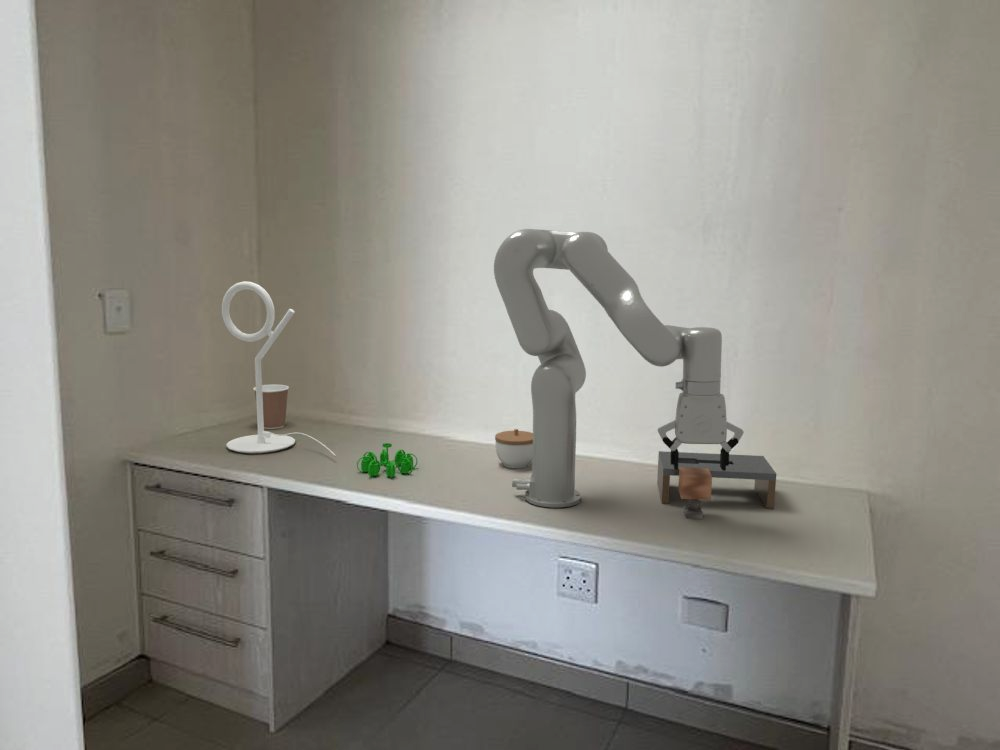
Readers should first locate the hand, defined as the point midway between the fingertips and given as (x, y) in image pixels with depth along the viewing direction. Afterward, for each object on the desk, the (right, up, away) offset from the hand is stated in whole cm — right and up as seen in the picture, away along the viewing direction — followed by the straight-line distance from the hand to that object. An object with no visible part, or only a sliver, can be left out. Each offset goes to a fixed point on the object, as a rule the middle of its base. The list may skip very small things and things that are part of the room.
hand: (699, 468), depth 164 cm
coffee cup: (-111, +4, +74) cm, 133 cm away
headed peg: (-1, -10, +2) cm, 11 cm away
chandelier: (-70, -5, +31) cm, 77 cm away
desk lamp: (-99, -1, +50) cm, 111 cm away
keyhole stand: (+7, -8, +15) cm, 18 cm away
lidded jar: (-38, -4, +37) cm, 53 cm away
